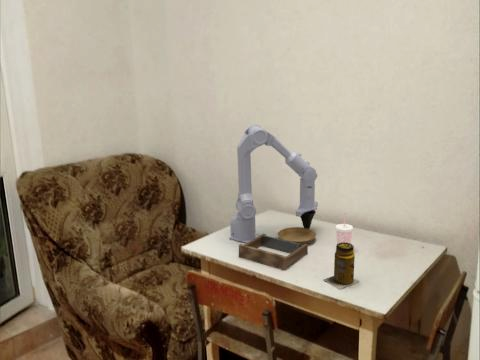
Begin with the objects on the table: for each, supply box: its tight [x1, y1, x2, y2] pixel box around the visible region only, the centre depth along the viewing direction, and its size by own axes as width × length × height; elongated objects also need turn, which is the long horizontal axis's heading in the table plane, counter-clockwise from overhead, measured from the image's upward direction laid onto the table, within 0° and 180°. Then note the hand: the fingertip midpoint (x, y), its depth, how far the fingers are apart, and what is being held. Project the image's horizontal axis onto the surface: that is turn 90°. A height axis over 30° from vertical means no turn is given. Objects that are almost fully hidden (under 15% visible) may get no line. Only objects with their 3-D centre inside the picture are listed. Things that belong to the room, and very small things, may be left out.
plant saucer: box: [277, 226, 317, 246], centre depth 175 cm, size 15×15×3 cm
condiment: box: [323, 242, 360, 290], centre depth 141 cm, size 7×8×12 cm
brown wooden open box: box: [238, 233, 309, 271], centre depth 161 cm, size 19×16×4 cm
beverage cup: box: [335, 213, 354, 245], centre depth 163 cm, size 6×6×14 cm
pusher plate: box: [261, 234, 302, 254], centre depth 165 cm, size 16×1×4 cm, turn 54°
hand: (306, 228), depth 181 cm, fingers closed
